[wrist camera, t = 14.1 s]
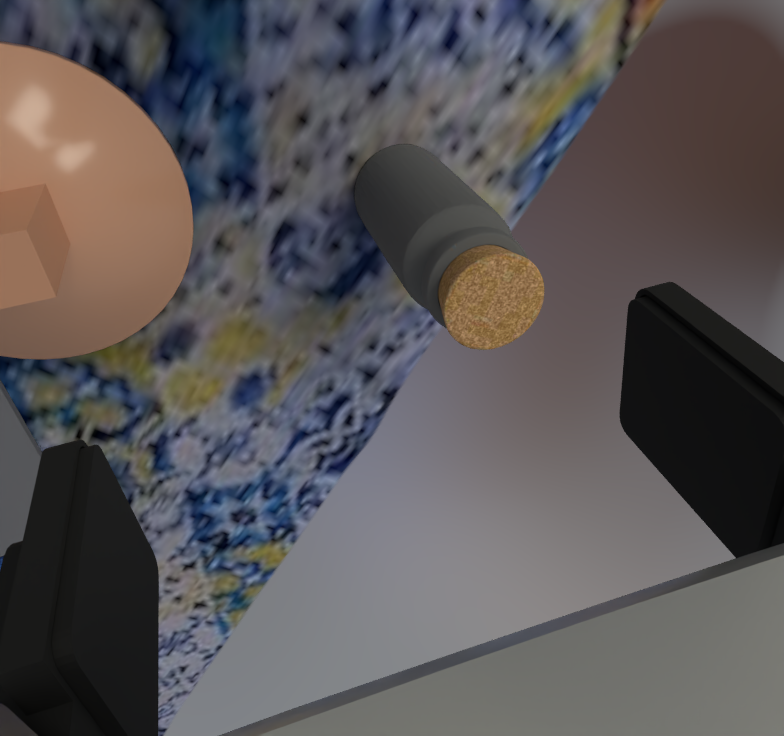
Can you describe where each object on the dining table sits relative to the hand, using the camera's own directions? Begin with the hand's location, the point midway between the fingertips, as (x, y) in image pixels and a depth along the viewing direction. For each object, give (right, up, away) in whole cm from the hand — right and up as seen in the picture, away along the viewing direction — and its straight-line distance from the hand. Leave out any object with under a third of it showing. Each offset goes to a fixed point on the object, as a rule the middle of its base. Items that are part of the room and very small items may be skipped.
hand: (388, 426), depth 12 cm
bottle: (0, +12, +30) cm, 33 cm away
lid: (-18, +9, +23) cm, 31 cm away
